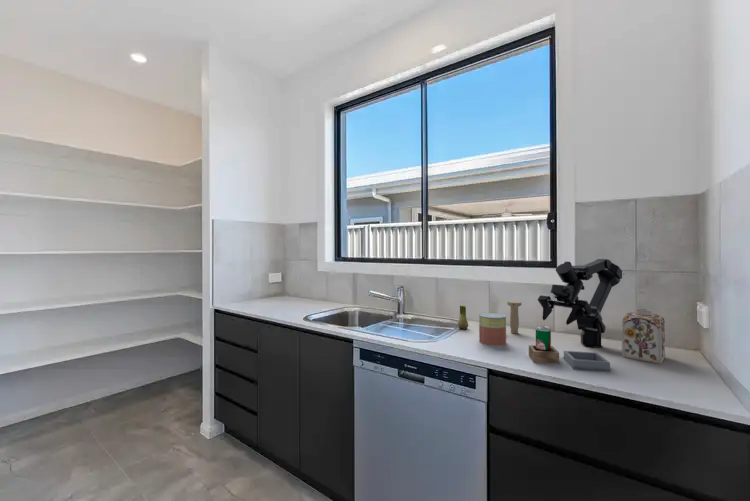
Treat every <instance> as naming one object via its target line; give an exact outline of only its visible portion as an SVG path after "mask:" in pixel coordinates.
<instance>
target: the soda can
mask: <svg viewBox="0 0 750 501" xmlns="http://www.w3.org/2000/svg"><path fill="white" fill-rule="evenodd" d="M535 345H536V351H550V352H551V346H552V330H551V329H550V326H545V325H537V326H536V328H535Z"/></svg>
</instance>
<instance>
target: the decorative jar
mask: <svg viewBox="0 0 750 501" xmlns="http://www.w3.org/2000/svg"><path fill="white" fill-rule="evenodd" d="M665 323H666V321H665V318H664V317H663V316H662V315H659V314H657V313H652V310H651V309H648V308H635V311H633V312H626V313H624V314H623V318H622V321H621V327H622V328H621V356H622V358H625V359H631V360H636V361H640V362H641V361H642V362H648V363H653V364H657V365H658V364H659V365H662V363H663V361H664V360H665V358H666V332H665V331H666V330H665V329H666V328H665V327H666V325H665Z"/></svg>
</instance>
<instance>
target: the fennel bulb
mask: <svg viewBox="0 0 750 501" xmlns="http://www.w3.org/2000/svg"><path fill="white" fill-rule="evenodd" d="M457 325H458V328H459V329H461V330H467V328H468V327H469V322H468V319H467V307H466V305H462V304H460V305H459V318H458V324H457Z"/></svg>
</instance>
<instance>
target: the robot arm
mask: <svg viewBox="0 0 750 501" xmlns="http://www.w3.org/2000/svg"><path fill="white" fill-rule="evenodd" d="M555 272H556V274H557V275H558V278H560V280H561V282H563V283H564V285H562V284H561V285H560V284H552V286H551V289H550V293H551V294H553V295H554V297H553V298H554V299H552V297H551V296H550V295H541V294H540V295H539V296H538V298H537V301H538V303H539V304H540V306H541V307H542V320H543V321H545V320H547V319H548V317H549V315H550V314H552V312H553V309H554V308H555V307H562V308H566V309H571V311H570V313H569V315H568V316H567V318H566V322H565V323H566V325H567V326H568V325H569V324H570V325H571V324H572V323H573V322H575V321H576V324H577V329H578V330H579V331H580V330H581V332H580V344H581V345H583V346H584V347H587V348H604V346H603V345H602V334H605V332H606V327H607V326H606V324H605V323H604V321H603V317H602V314H601V312H602V311H603V308H604V306H605V303H606V302H607V299H608V297H609V294H610V293H611V290H612V288H613V287H615V286H617V285H619V283H620V282H621V280H622V279H623V277H622V272H623V270H622V269H621V268H620V266H619V265H617V264H615V263H613V262H612V261H611V260H610V259H608V258H597V259H595V260H593V261H591V262H588V263H586V264H583V265H572V262H571V261H564V262H563V263H561V264H559V265H558V266H557V267H556V268H555ZM594 274H597V277H598V280H599V283H598V285H597V287H596V289H595V291H594V292H593V295H592V298H591V300H590V301H589V302H588V301H587V300H585V299H584V300H583V299H579V294H580V292H581V291H584V290H585V286H584V283H583V281H589V280H591V279H592V278H593V277H594V276H593V275H594ZM620 279H621V280H620Z"/></svg>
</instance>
